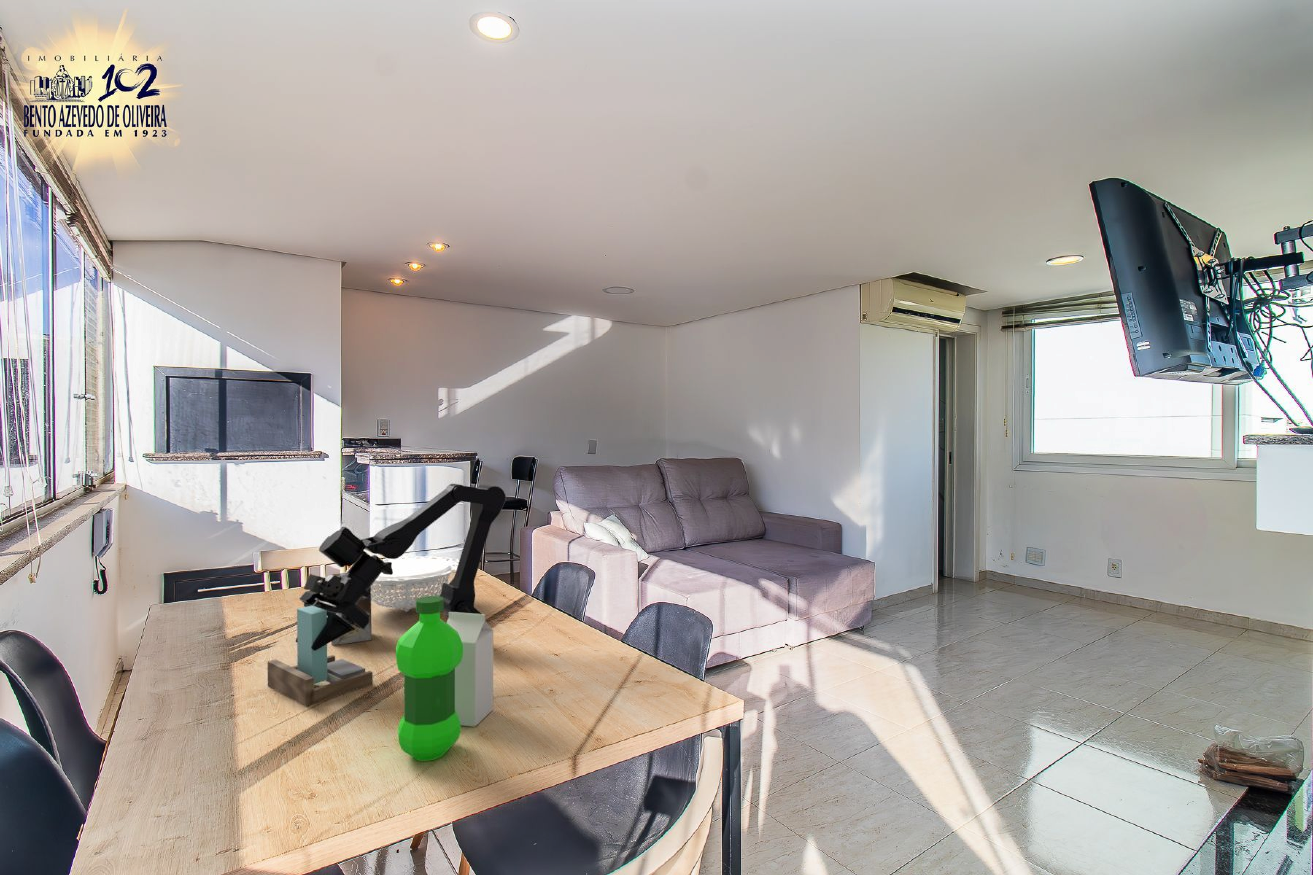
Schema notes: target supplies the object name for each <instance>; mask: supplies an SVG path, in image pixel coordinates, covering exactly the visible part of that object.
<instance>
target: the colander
mask: <svg viewBox="0 0 1313 875" xmlns="http://www.w3.org/2000/svg"><path fill="white" fill-rule="evenodd" d="M382 560H383V561H384V562H392V570H393V574H392V575H388V574H383V573H382V572H381V574H380V575H379V576H378V578H377V579H376V580H375V581H374V583H373V584H372V585H371V603H374V604H375V605H377V606H379V607H380V606H381V607H385V608H389V609H391V608H392V609H395V610H401V611H403V610H404V611H405V612H406V613H407V612H409V610H411V609H413V608H415V609H416V599H419V598H421V597H427V596H440V594H441V591H442V585H443V583H447V584H449V579H450V576H451V574H456V570H457V567H458V564H459V560H460V558H459V559H458V558H452V557H451V558H450V557H447V556H441V557H440V556H432V555H430V556H429V555H424V556H403V557H402V556H400V557H399V558H396V559H388V558H383V559H382ZM350 568H351V567H349V568H348V569H347V570H346V571H345V573H347V571H348V570H349V569H350ZM391 591H394V592H391Z"/></svg>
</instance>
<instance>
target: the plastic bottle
mask: <svg viewBox="0 0 1313 875" xmlns="http://www.w3.org/2000/svg"><path fill="white" fill-rule="evenodd" d="M418 598H419V597H418ZM415 611H416V614H419V617H418V618H419V620H418V621H416V623H415V624H414V625H413V626H411V627H410V628H409V629H407V631H406V632H405V633H404V634H402V636H400V637H399V638H398V641H397V642H396V646H395V658H396V660H395V661H396V665H397V669H398V671H399V672H400V673H401V674H403V676H404V677H403V678H404V679H403V680H404V682H403V683H404V685H403V687H404V688H403V689H404V690H403V691H404V692H403V693H404V699H403V700H404V701H403V702H404V705H403V707H404V708H403V710H404V711H403V712H404V713H403V716H402V717H401V719H400V721H399V724H398V726H397V735H398V737H397V738H398V744H399V746H400V749H401V751H403V753H405V754H407V755H408V756H411V757H412V758H413V759H415V760H417V761H420V762H428V761H433V760H434V761H435V760H437V759H439V758H442V757H443V756H444V755H445V754H446V753H447V751H448V750H449V749H450V748H451V747H453V745H455V743H456V742H457V741H458V740H459V738H460V735H461V731H462V725H461V724H460V720H459V717H458V714H457V712H456V710H455V668H456V667H457V666H458V664H459V663H460V662H461V660H462V656H463V644H462V641H461V639H460V636H459V634H458V632H457V631H456V630H455V629H453V628H452V627H451V626H450V625H448V624H447V622H445V621H444V620H442V619H441V612H442V611H443V597H439V596H431V595H430V596H427V597H421V598H419V599H416V608H415Z"/></svg>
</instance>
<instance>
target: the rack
mask: <svg viewBox="0 0 1313 875" xmlns="http://www.w3.org/2000/svg"><path fill="white" fill-rule="evenodd" d="M333 661H336V656H335V655H333V654H331V655H329V656H328V655H327V663H330V662H333ZM373 679H374V678H373V671H371V670H369V671H365V673H362V674H359V675H355V676H352V677H349V678H346V679H343V680H340V681H337V682H333V683H330V682H329V683H328V684H325V685H324V684H323V685H321V686H318V687H315V684H314V677H311V676H309V675H307V674H305V673H303V672H301V671H299V670H298V664H297V665H292V666H290V665H289V664H286V663H284V662H282V661H281V660H278V659H276V658H275V659H271V660H268V661H267V686H268V687H270V689H273V690H275V691H276V692H278V693H280V694H282V695H284V696H286V697H288V698H289V699H291V700H293V701H295V702H297V703H299V704H300V705H302V706H304V707H310V706H312V705H314V704H317V703H320V702H324V701H327V700H329V699H333V698H336V697H339V696H341V695H344V694H347V693H350V692H354V691H356V690H360V689H363V688H365V687H368V686H371V685H373Z"/></svg>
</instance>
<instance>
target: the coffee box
mask: <svg viewBox="0 0 1313 875" xmlns="http://www.w3.org/2000/svg"><path fill="white" fill-rule="evenodd" d="M345 574H346V572H343V573H332V574H331V575H334V576H339V575H341V576H344V575H345ZM367 592H368V593H370V594H369V595H368V597H367V598H366V597H362V598H361V599H360V600H359V602H358V603H357V604H356V605H357V606H358V607H359V608H361V609H362V610H363V611H364V612H366V613H367V614H368V615H369V616H370V623H369V624H368V625H367V627H366V628H365V629H364V630H362V629H359V628H357V627H356V626H355V625H354V626H353V627H354V628H355V630H354V631H350V632H348V633H346V634H344V635H342V636H340V637H338V638H337V639H335V640H333V641H331V642H330V645H331V646H337V645H344V644H350V643H357V642H364V641H371V640H372V639H373V633H372V628H373V627H372V601H371V594H372V592H371V586H370V588H369V589H368V590H367Z"/></svg>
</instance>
